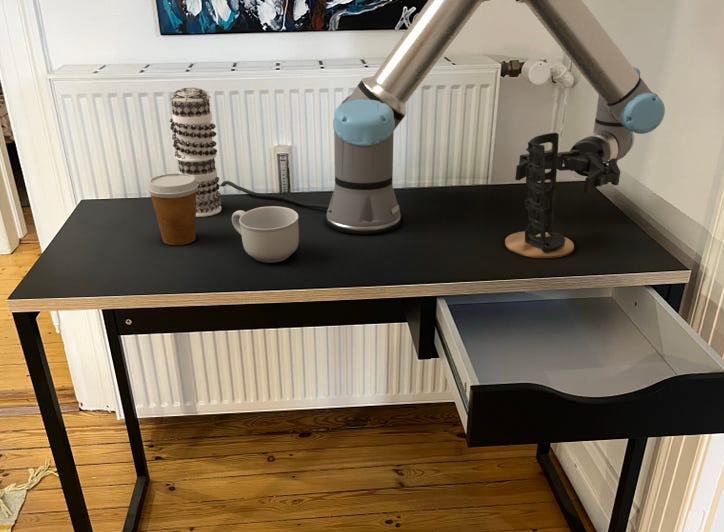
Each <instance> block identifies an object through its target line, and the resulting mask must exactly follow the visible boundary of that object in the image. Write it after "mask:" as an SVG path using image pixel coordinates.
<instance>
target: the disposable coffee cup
mask: <svg viewBox="0 0 724 532" xmlns="http://www.w3.org/2000/svg"><path fill="white" fill-rule="evenodd" d="M197 187H198V183H197V182H196V180H195V177H194V176H192V175H189V174H182V173H179V172H173V173H172V172H171V173H164V174H163V173H162V174H158V175H155V176H152V177H150V178H149V180H148V185H147V186H146V190H147V191H148V193H149V195H150V198H151V203H152V205H153V209H154V212H155V216H156V220H157V223H158V227H159V231H160V235H161V238H162V242H163V243H164V244H166V245H169V246H183V245H187V244H190V243H191V244H192V243H193V242H194V241H195V240H196V235H197V233H196V228H197V227H196V226H197V224H196V223H197V217H196V191H197Z"/></svg>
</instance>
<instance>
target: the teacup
mask: <svg viewBox="0 0 724 532" xmlns="http://www.w3.org/2000/svg"><path fill="white" fill-rule="evenodd" d="M299 218H300V216H299V213H298V212H297V211H295V209H292V208H289V207H286V206H279V205H271V206H269V205H268V206H260V207H256V208H253V209H252V208H251V209H249V210H246V211H245V210H241V209H239V210H236V211H234V212H233V213H232V215H231V222H232V226H233V228H234V229H235V230H236V232H237V233H238V234H239V235H240V236H241V241H242V246H243V249H244V251H245V253H246V254H247V255H248V256H250V257H252V258H253V259H255V260H256V261H258V262H261V263H268V264H269V263H279V262H282V261H285V260H286V259H288V258H290V256H292V255H293V254H294V253H295V252H296V251H297V249H298V247H299V241H300V231H299V230H300V228H299Z"/></svg>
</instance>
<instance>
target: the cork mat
mask: <svg viewBox="0 0 724 532" xmlns="http://www.w3.org/2000/svg"><path fill="white" fill-rule="evenodd" d="M536 237H540V234H538V235H536ZM546 237H553V236H551V235H549V234H548V232H546ZM564 237H565V244H564V245H563V246H562V247H560V248H559V249H556V250H554V251H553V252H550V253H544V252H543V251H542V250H541V249H540V248H537V247H535V246H533V245H531V244H530V243H526V242H525V230H524V231H518V232H514V233H511V234H510V235H508V236H507V237H506V238H505V239H504V245H505V247H506V248H507V249H508V250H509V251H511V252H513V253H515V254H517V255H520V256H524V257H528V258H537V259H555V258H562V257H565V256H568V255H570V254H572V252H573V251H574V249H575V244H574V242H573V241H572V240H571V239H569V238H567V237H566V236H564ZM546 246H549V245H548V244H546Z"/></svg>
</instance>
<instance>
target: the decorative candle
mask: <svg viewBox="0 0 724 532" xmlns="http://www.w3.org/2000/svg"><path fill="white" fill-rule="evenodd" d="M211 98H212V97H211V96H210V95H209V94H207V92H206V91H205V90H204V89H202V88H200V87H183V88H179V89H177V90H175V91H174V93H173V96H171V97H170V98H169V100H170V102H171V108H172V109H171V110H172V114H171V116H172V118H169V123H171V124H170V127H169V129H170V130H171V131H172V133H173V134H171V136H172V137H171V139H172V141H173V144H172V147H173V148H174V149H175V152H174V156H175V159H176V160H178V169H179V170H178V173H182V174H189V175H192V176H194V177H195V180H196V182H197V183H198V187H197V191H196V218H201V217H202V218H203V217H204V218H205V217H209V216H215V215H217V214H220V213H221V211H222V206H221V205H222V200H221V199H220V198H221V195H222V193H221V192H220V191H219V190H220V188H221V186H220V185H221V184H219V181H220V177H219V176H218V171H217V170H218V169H217V167H216V160H215V158H216V157H217V155H218V154H217V153H218V150H217V149H216V148H214V147H216V146H217V141H215V140H213V138H215V137H216V136H217V132H216V131H214V129H216V124H215V123H213V122H212V120H213V116H212V111H211V103H210V99H211Z"/></svg>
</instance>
